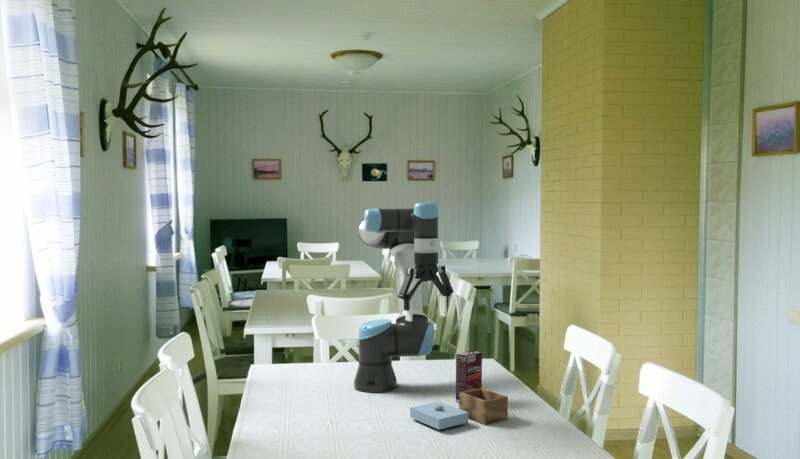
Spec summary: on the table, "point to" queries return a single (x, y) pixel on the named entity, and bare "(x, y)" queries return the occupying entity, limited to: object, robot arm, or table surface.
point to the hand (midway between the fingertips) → (426, 318)
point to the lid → (439, 415)
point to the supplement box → (468, 371)
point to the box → (484, 406)
